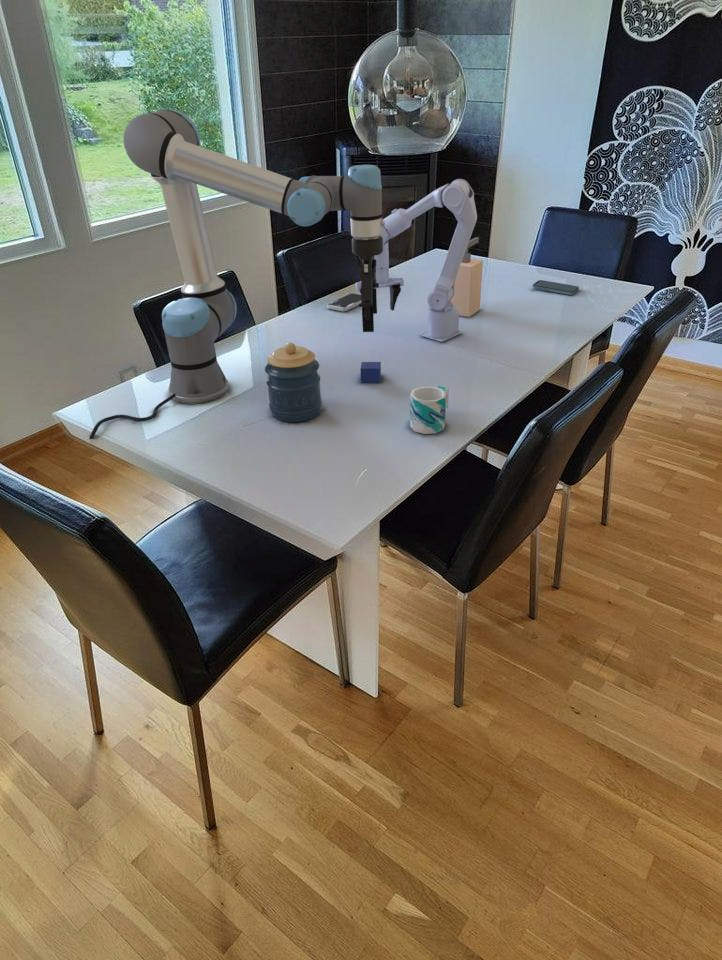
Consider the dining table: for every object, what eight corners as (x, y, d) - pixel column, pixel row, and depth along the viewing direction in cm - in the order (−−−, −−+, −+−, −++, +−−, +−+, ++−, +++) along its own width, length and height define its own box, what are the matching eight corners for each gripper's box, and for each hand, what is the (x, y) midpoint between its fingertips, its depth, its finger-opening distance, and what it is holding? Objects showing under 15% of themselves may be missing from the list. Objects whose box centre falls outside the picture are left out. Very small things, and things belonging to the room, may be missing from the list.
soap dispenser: (469, 317, 218) (472, 247, 206) (445, 313, 222) (447, 244, 210) (485, 305, 227) (489, 238, 215) (462, 302, 231) (465, 236, 219)
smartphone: (369, 296, 236) (344, 308, 226) (369, 300, 237) (344, 312, 227) (351, 293, 240) (326, 304, 230) (351, 296, 241) (326, 308, 230)
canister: (275, 426, 159) (266, 357, 150) (266, 403, 170) (257, 337, 160) (328, 418, 162) (323, 349, 153) (316, 396, 173) (310, 330, 163)
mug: (404, 428, 156) (404, 396, 152) (428, 408, 165) (428, 376, 160) (435, 436, 153) (436, 403, 148) (458, 415, 161) (460, 383, 156)
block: (380, 382, 179) (379, 368, 176) (360, 382, 179) (360, 368, 177) (381, 375, 182) (380, 361, 180) (362, 375, 183) (361, 361, 181)
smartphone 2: (573, 292, 232) (531, 284, 239) (572, 296, 233) (531, 289, 240) (579, 286, 237) (539, 279, 244) (579, 290, 238) (538, 283, 245)
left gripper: (379, 249, 150) (382, 339, 161) (385, 224, 171) (386, 306, 182) (346, 250, 150) (351, 340, 162) (355, 225, 171) (359, 306, 183)
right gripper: (358, 272, 195) (360, 317, 203) (406, 267, 198) (406, 312, 205) (353, 265, 201) (355, 310, 209) (400, 261, 204) (400, 305, 211)
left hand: (370, 322), depth 172 cm, fingers open, 13 cm apart
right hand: (380, 310), depth 207 cm, fingers open, 7 cm apart
